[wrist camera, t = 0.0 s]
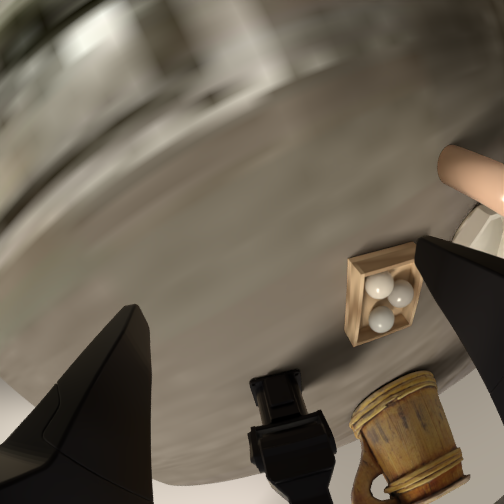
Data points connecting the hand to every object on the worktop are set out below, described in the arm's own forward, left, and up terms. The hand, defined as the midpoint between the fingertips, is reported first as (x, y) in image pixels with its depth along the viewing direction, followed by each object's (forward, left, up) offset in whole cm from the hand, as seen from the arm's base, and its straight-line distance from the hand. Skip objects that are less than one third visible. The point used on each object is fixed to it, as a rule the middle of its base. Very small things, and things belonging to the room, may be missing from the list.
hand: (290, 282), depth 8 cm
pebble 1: (-13, -12, -14) cm, 22 cm away
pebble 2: (-18, -13, -14) cm, 26 cm away
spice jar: (-2, -22, -15) cm, 27 cm away
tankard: (-47, -19, -15) cm, 53 cm away
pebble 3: (-15, -15, -14) cm, 25 cm away
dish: (-14, -30, -15) cm, 36 cm away
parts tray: (-15, -13, -15) cm, 25 cm away
